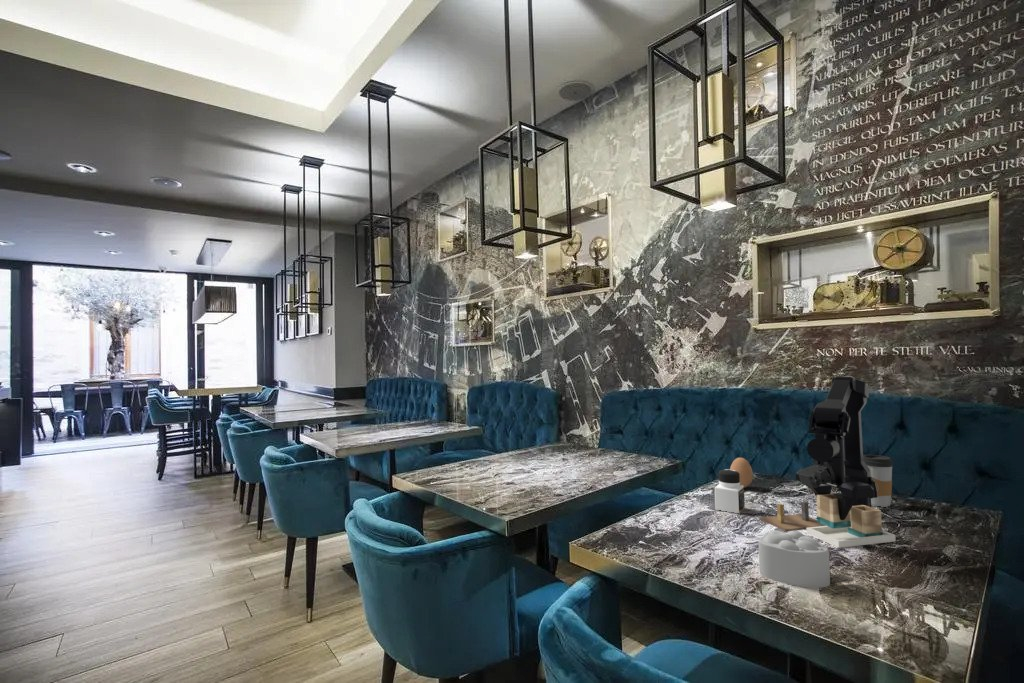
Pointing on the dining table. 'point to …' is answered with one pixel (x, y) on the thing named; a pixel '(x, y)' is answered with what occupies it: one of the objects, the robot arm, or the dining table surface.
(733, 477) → the medicine bottle
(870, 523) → the sleeve
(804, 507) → the pin board
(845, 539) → the feeder tray
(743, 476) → the egg
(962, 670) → the dining table surface
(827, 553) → the lumpy-topped squat cylinder
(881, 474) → the coffee cup
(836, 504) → the oak sleeve
